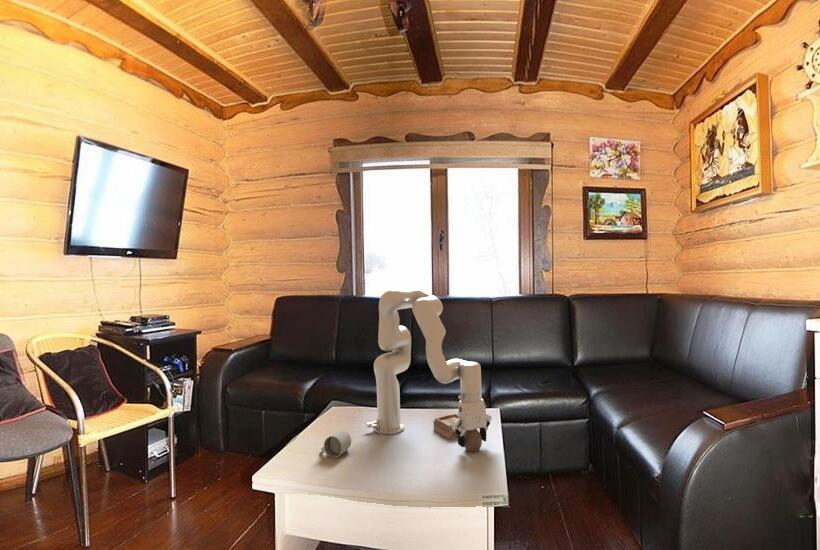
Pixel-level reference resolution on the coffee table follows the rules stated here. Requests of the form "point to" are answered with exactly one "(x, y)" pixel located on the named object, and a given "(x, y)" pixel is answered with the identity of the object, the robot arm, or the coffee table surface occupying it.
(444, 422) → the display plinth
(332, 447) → the ceramic mug
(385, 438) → the coffee table surface
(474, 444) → the vase
